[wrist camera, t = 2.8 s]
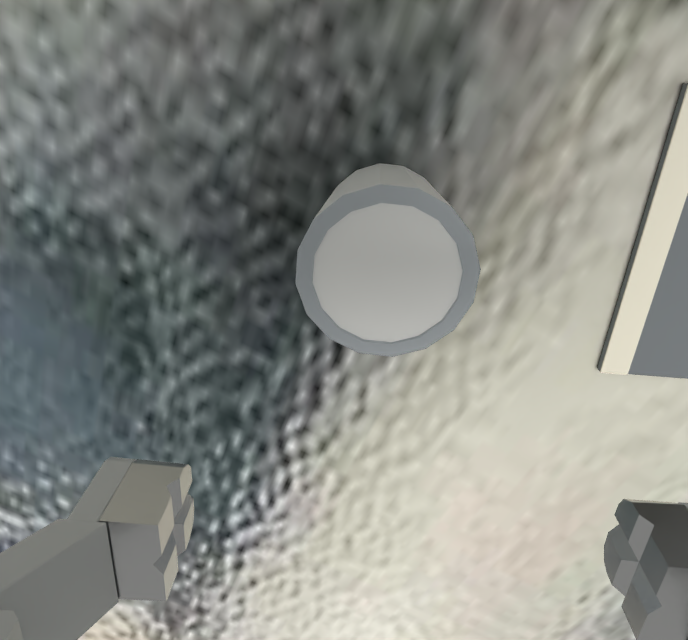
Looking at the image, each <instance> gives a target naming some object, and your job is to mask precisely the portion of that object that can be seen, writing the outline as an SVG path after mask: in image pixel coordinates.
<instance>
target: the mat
mask: <svg viewBox="0 0 688 640" xmlns="http://www.w3.org/2000/svg"><path fill="white" fill-rule="evenodd" d="M597 368H598V370H599V371H600V373H609V374H622V375H628V374H635V375H648V376H661V377H674V378H687V379H688V83H683V86H682V89H681V92H680V96H679V99H678V102H677V106H676V109H675V112H674V116H673V119H672V122H671V126H670V129H669V132H668V135H667V139H666V142H665V145H664V149H663V152H662V155H661V159H660V162H659V165H658V169H657V172H656V175H655V178H654V182H653V185H652V188H651V192H650V195H649V198H648V202H647V205H646V208H645V212H644V215H643V218H642V222H641V225H640V228H639V231H638V235H637V238H636V241H635V245H634V248H633V251H632V255H631V258H630V261H629V265H628V268H627V271H626V274H625V278H624V281H623V284H622V288H621V291H620V294H619V298H618V301H617V304H616V308H615V311H614V314H613V317H612V321H611V324H610V327H609V331H608V334H607V337H606V341H605V344H604V347H603V351H602V354H601V357H600V360H599V364H598V367H597Z"/></svg>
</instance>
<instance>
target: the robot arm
mask: <svg viewBox="0 0 688 640" xmlns="http://www.w3.org/2000/svg"><path fill="white" fill-rule="evenodd" d="M191 483H192V475H191V467H190V466H189V465H188V464H180V463H170V462H160V461H151V460H141V459H137V460H135V459H126V458H117V457H110V458H109V459H107V460H106V461H104V463H103V464H102V466H101V467H100V469H99V470H98V472H97V473H96V475H95V476H94V478H93V480H92V481H91V483H90V484H89V486H88V487H87V489H86V490H85V492H84V493H83V495H82V497H81V498H80V500H79V501H78V503H77V504H76V506H75V507H74V509H73V510H72V512H71V514H70V515H69V517H68V518H67V519H58V520H56V521H54V522H53V523H51V524H49V525H47V526H46V527H44V528H42V529H41V530H39V531H37V532H36V533H34V534H32V535H30V536H29V537H27V538H25V539H24V540H22V541H20V542H19V543H17V544H15V545H13V546H12V547H10V548H8V549H7V550H5V551H3V552H2V553H0V640H77V639H78V638H80V637H81V636H82V635H83V634H84V633H85V632H86V631H87V630H88V629H89V628H90V627H92V626H93V625H94V624H95V623H96V622H97V621H98V620H99V619H100V618H101V617H102V616H103V615H105V614H106V613H107V612H108V611H109V610H110V609H111V608H112V607H113V606H114V605H115V604H117V603H118V599H131V600H150V601H167V598H168V596H169V593H170V590H171V588H172V585H173V582H174V580H175V577H176V574H177V572H178V562H177V556H178V555H180V554H181V553H182V552H184V551H185V550H186V547H187V544H188V542H189V539H190V535H191V530H192V525H193V517H194V500H193V498H192V497H191V496H190V495H189V494H188V490H189V488H190V485H191ZM615 516H616V518H617V520H618V522H619V525H618V526H616V527H615V528H614V529H612V530H611V531H610V532H608V535H607V538H606V542H605V545H604V562H605V567H606V571H607V574H608V577H609V579H610V581H611V584H612V585H613V586H614V587H615V588H616V589H617V590H619V591H620V592H621V593H622V594H623V595H624V596H625V598H624V601H623V604H622V609H623V611H624V613H625V615H626V617H627V620H628V622H629V624H630V626H631V629H632V631H633V633H634V635H635V637H636V640H688V503H672V502H658V501H645V500H631V499H623V500H622V501H621V502H620V504H619V505H618V507H617V510H616V513H615Z"/></svg>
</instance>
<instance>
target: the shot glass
mask: <svg viewBox="0 0 688 640" xmlns="http://www.w3.org/2000/svg"><path fill="white" fill-rule="evenodd" d="M480 270H481V269H480V264H479V260H478V255H477V250H476V246H475V241H474V237H473V234H472V233H471V232H470V230H469V229H468V228H467V226H466V225H465V224H464V222H463V221H462V220H461V218H460V217H459V216H458V214H457V213H456V212H455V210H454V209H453V208H452V207H451V205H450V204H449V203H448V202H447V201H446V200H445V199H444V198H443V197H442V196H441V195H440V194H439V193H438V192H437V191H436V190H435V189H434V188H433V187H432V185H431V184H430V183H429V182H428V181H427V180H426V179H425V178H424V177H422V176H421V175H419V174H417V173H415V172H413V171H412V170H410V169H408V168H406V167H404V166H401V165H391V164H382V163H378V164H375V165H372V166H368V167H365V168H362V169H358V170H356V171H355V172H353V173H352V174H351V175H350V176H348V177H347V178H346V179H345V180H344V181H342V182H341V183H340V184H339V185H338V186H337V187H336V188H335V190H334V191H333V193H332V194H331V195H330V197H329V198H328V200H327V201H326V202H325V204H324V205H323V207H322V208H321V209H320V211H319V212H318V214H317V215H316V216H315V218H314V219H313V221H312V223H311V225H310V227H309V229H308V231H307V233H306V235H305V237H304V238H303V240H302V242H301V244H300V246H299V248H298V250H297V267H296V283H295V284H296V286H297V289H298V292H299V295H300V297H301V300H302V303H303V305H304V308H305V311H306V314H307V315H308V316H309V317H310V318H311V319H312V321H313V322H314V323H315V324H316V325H317V326H318V327H319V328H320V329H321V330H322V331H323V332H324V333H325V335H326V336H327V337H328V338H329V339H331V340H333V341H335V342H337V343H339V344H341V345H344V346H346V347H348V348H350V349H352V350H354V351H356V352H358V353H363V354H372V355H382V356H391V357H393V356H397V355H402V354H406V353H410V352H414V351H418V350H422V349H426V348H427V347H429V346H430V345H432V344H434V343H435V342H437V341H438V340H440V339H441V338H443V337H444V336H446V335H447V334H449V333H450V332H452V331H453V330H454V329H455V328H456V326H457V325H458V324H459V322H460V321H461V319H462V318H463V316H464V315H465V314H466V312H467V311H468V309H469V308H470V306H471V305H472V304H473V302H474V297H475V293H476V288H477V283H478V279H479V274H480Z"/></svg>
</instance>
